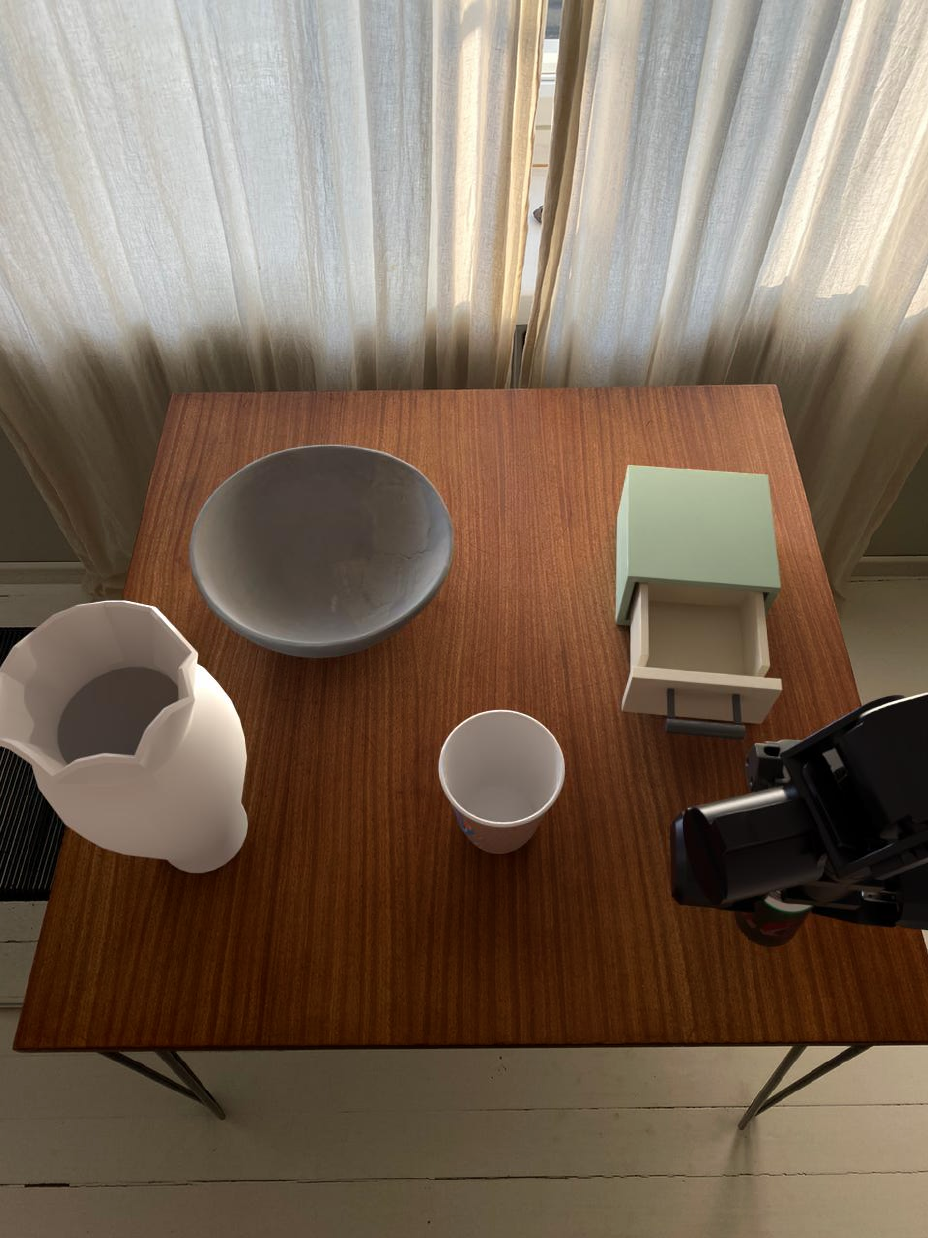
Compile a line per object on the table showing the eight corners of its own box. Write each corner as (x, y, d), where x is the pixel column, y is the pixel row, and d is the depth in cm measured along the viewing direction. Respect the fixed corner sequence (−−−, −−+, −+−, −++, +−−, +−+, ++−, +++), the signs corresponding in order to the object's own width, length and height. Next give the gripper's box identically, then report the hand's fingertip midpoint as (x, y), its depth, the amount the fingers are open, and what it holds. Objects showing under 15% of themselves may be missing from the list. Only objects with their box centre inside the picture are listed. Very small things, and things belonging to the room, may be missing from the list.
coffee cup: (441, 769, 84) (437, 711, 74) (548, 764, 84) (558, 706, 74) (444, 875, 78) (440, 829, 68) (559, 870, 78) (571, 823, 68)
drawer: (765, 766, 83) (787, 735, 77) (621, 753, 84) (632, 721, 78) (751, 609, 93) (769, 570, 87) (622, 598, 93) (632, 559, 88)
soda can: (809, 913, 71) (841, 868, 61) (775, 962, 70) (801, 924, 60) (755, 873, 74) (777, 824, 64) (720, 920, 72) (737, 876, 62)
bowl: (243, 493, 103) (222, 432, 95) (464, 506, 102) (463, 445, 94) (186, 687, 89) (157, 635, 81) (443, 705, 88) (440, 654, 79)
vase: (301, 768, 84) (231, 597, 60) (259, 923, 76) (158, 799, 52) (155, 748, 85) (28, 573, 61) (99, 898, 78) (-73, 766, 53)
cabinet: (756, 636, 92) (781, 588, 84) (615, 624, 93) (627, 575, 85) (746, 527, 100) (768, 474, 92) (616, 517, 101) (628, 464, 93)
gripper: (971, 731, 58) (881, 815, 72) (689, 707, 60) (651, 793, 73) (1010, 898, 52) (904, 956, 65) (696, 867, 54) (653, 930, 67)
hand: (774, 902), depth 68 cm, fingers closed on soda can, 5 cm apart
